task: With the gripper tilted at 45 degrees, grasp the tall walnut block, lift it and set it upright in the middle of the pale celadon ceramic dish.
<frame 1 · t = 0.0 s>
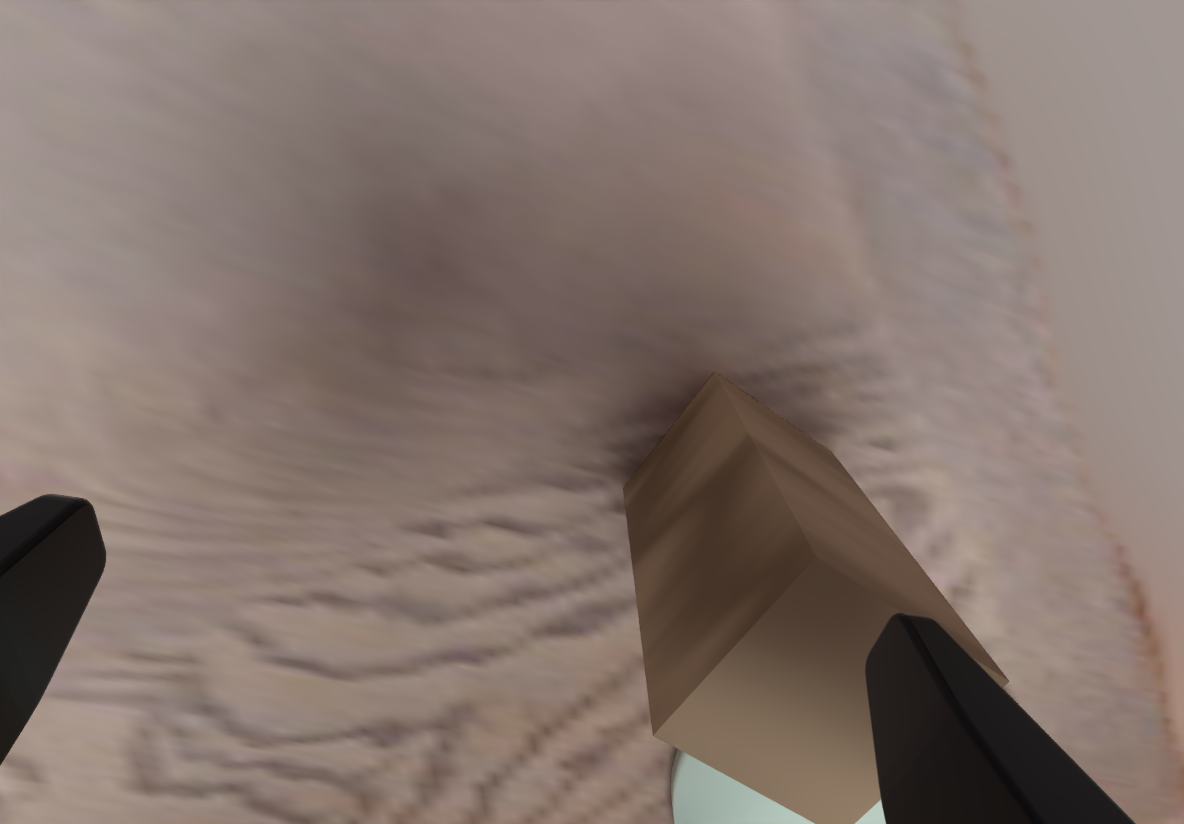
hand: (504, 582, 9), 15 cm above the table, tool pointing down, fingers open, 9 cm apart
walnut block: (727, 471, 25), on the table
dish: (845, 779, 30), on the table
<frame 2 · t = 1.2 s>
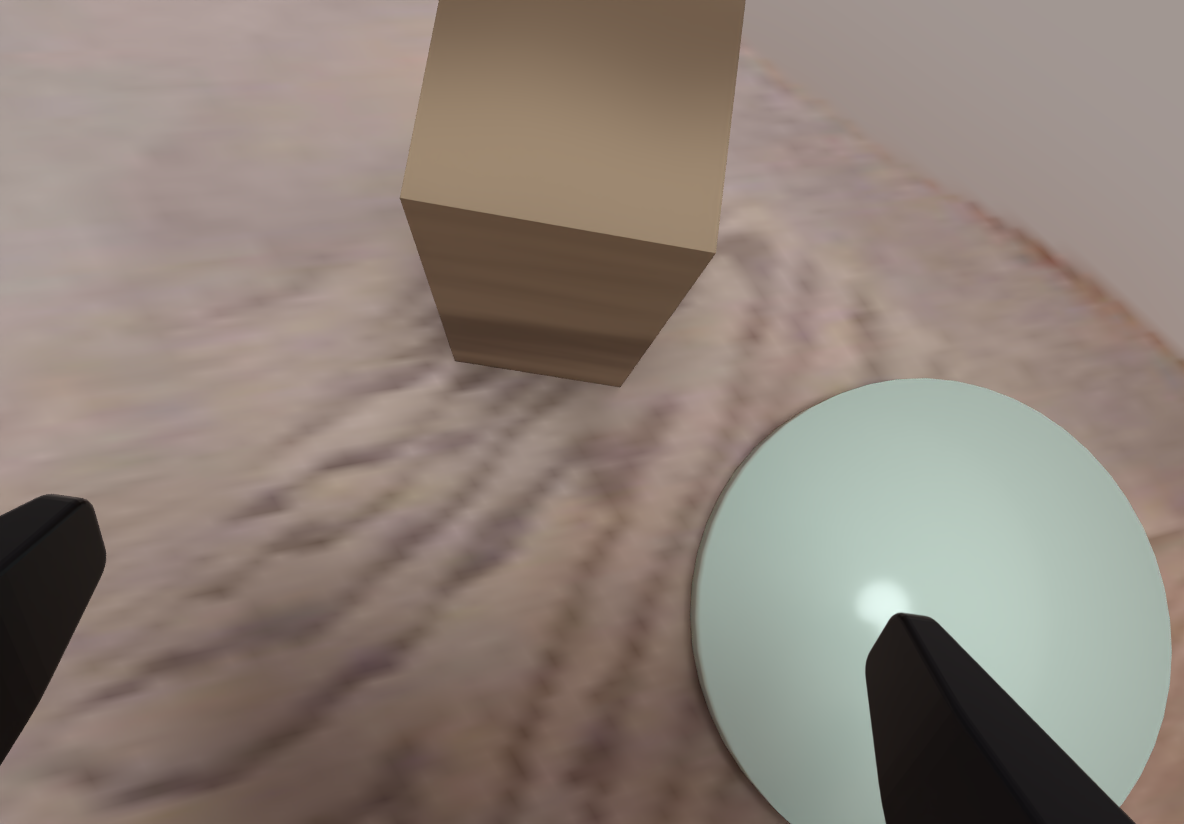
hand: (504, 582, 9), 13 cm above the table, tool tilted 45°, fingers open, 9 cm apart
walnut block: (550, 295, 23), on the table
dish: (920, 615, 23), on the table
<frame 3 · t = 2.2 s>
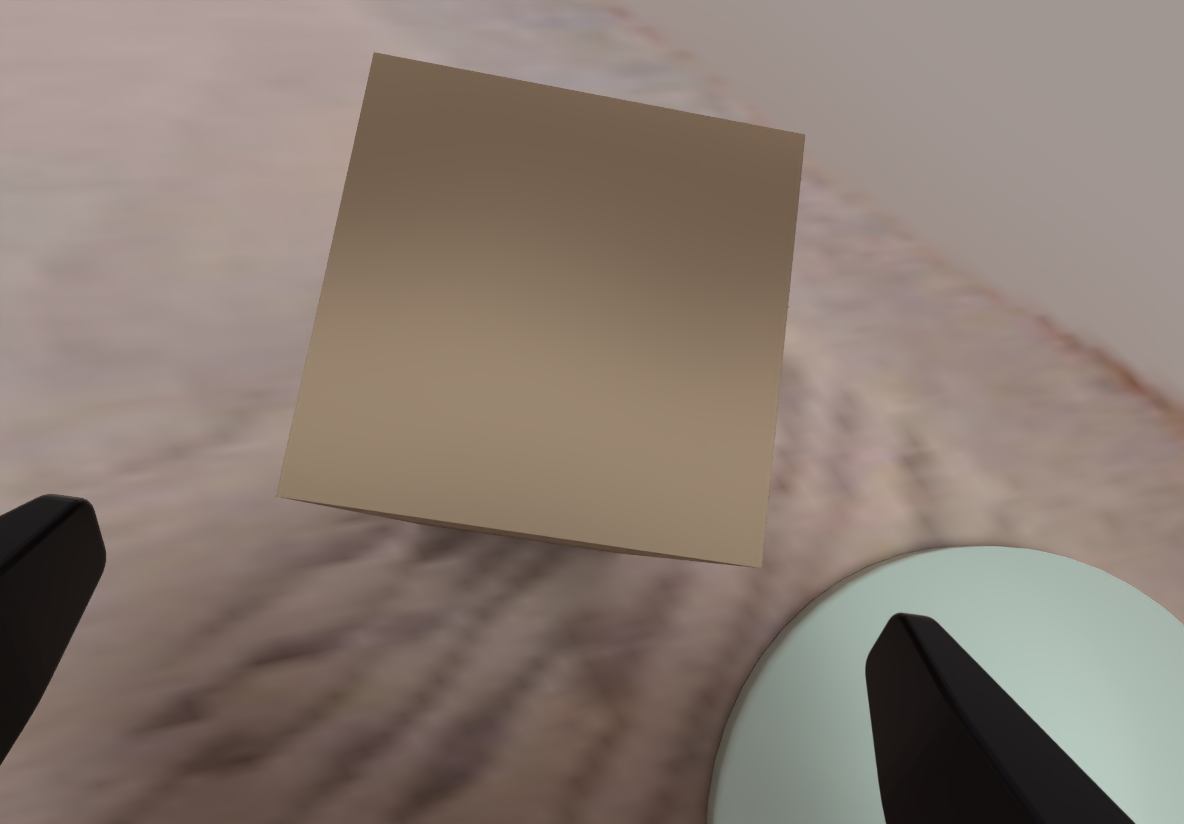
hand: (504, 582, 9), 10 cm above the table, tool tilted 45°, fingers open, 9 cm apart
walnut block: (535, 438, 19), on the table
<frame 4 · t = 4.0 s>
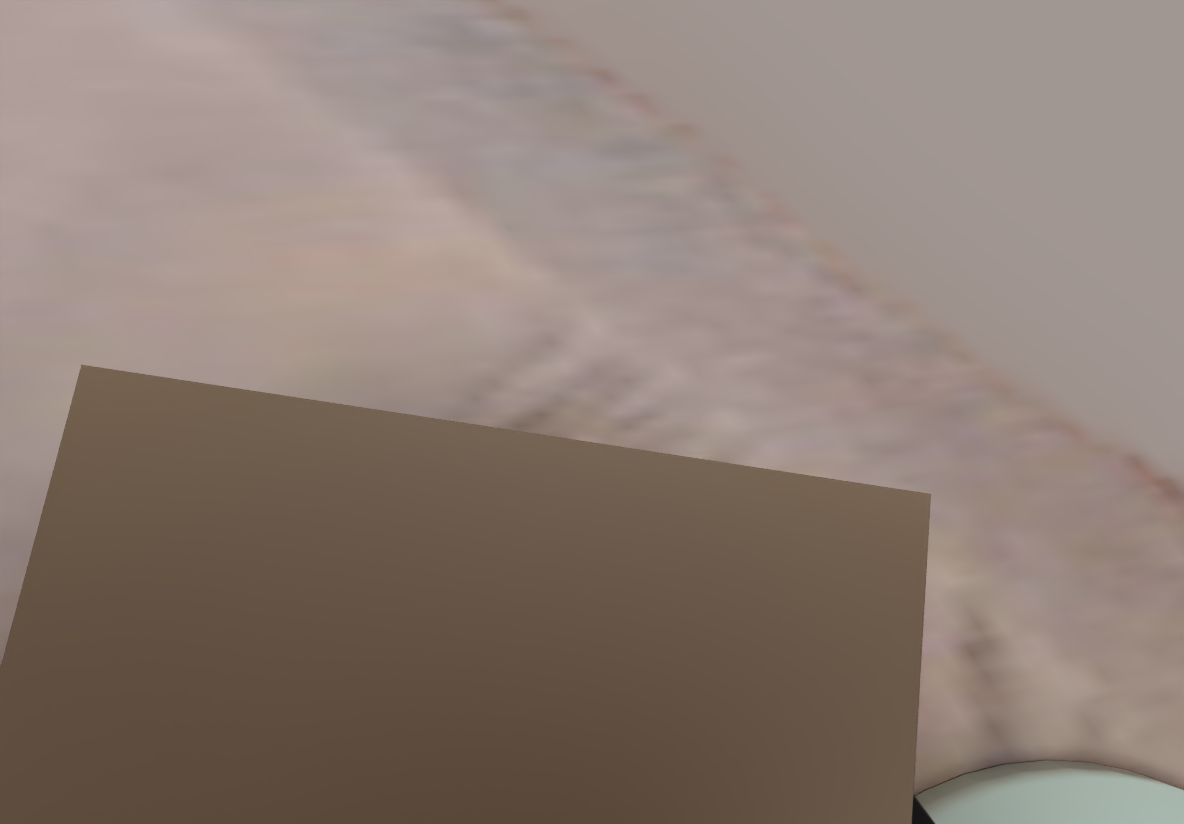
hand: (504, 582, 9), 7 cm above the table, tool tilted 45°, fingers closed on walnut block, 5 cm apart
walnut block: (498, 634, 15), on the table, touching gripper
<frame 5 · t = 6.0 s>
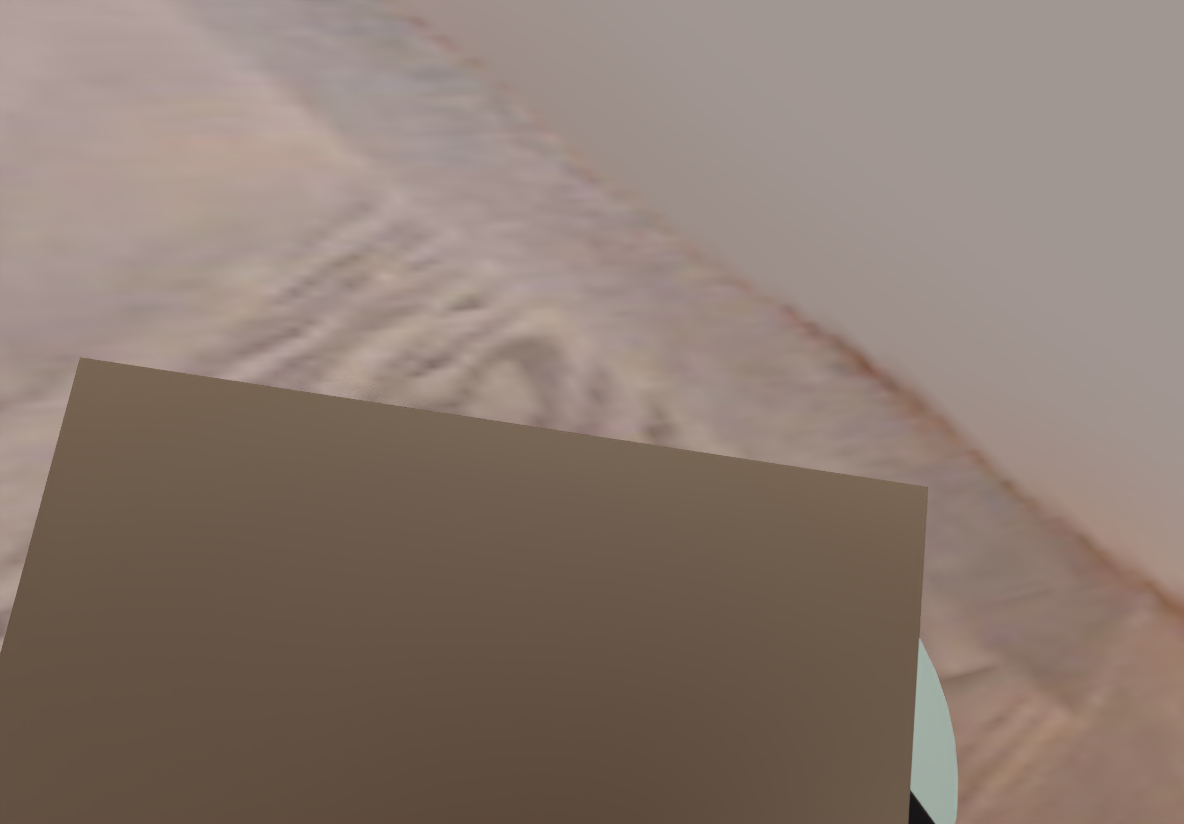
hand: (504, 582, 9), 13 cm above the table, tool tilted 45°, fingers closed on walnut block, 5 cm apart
walnut block: (497, 633, 15), point 7 cm above the table, touching gripper
dish: (695, 759, 21), on the table
when the fingers open (9 cm above the table, at t = 8.1 s): walnut block stays where it is, resting on dish.
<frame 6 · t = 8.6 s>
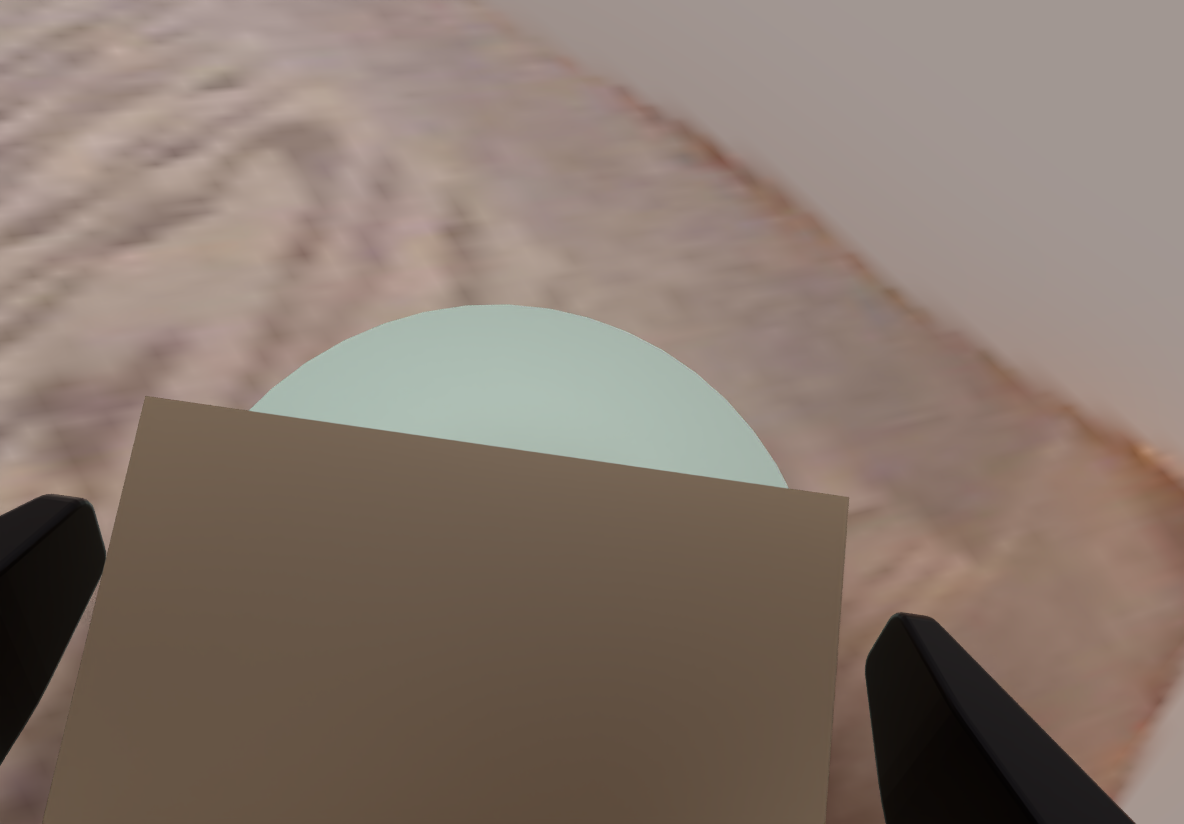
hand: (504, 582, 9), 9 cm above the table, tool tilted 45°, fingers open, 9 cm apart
walnut block: (496, 627, 16), point 1 cm above the table, touching dish
dish: (500, 621, 17), on the table
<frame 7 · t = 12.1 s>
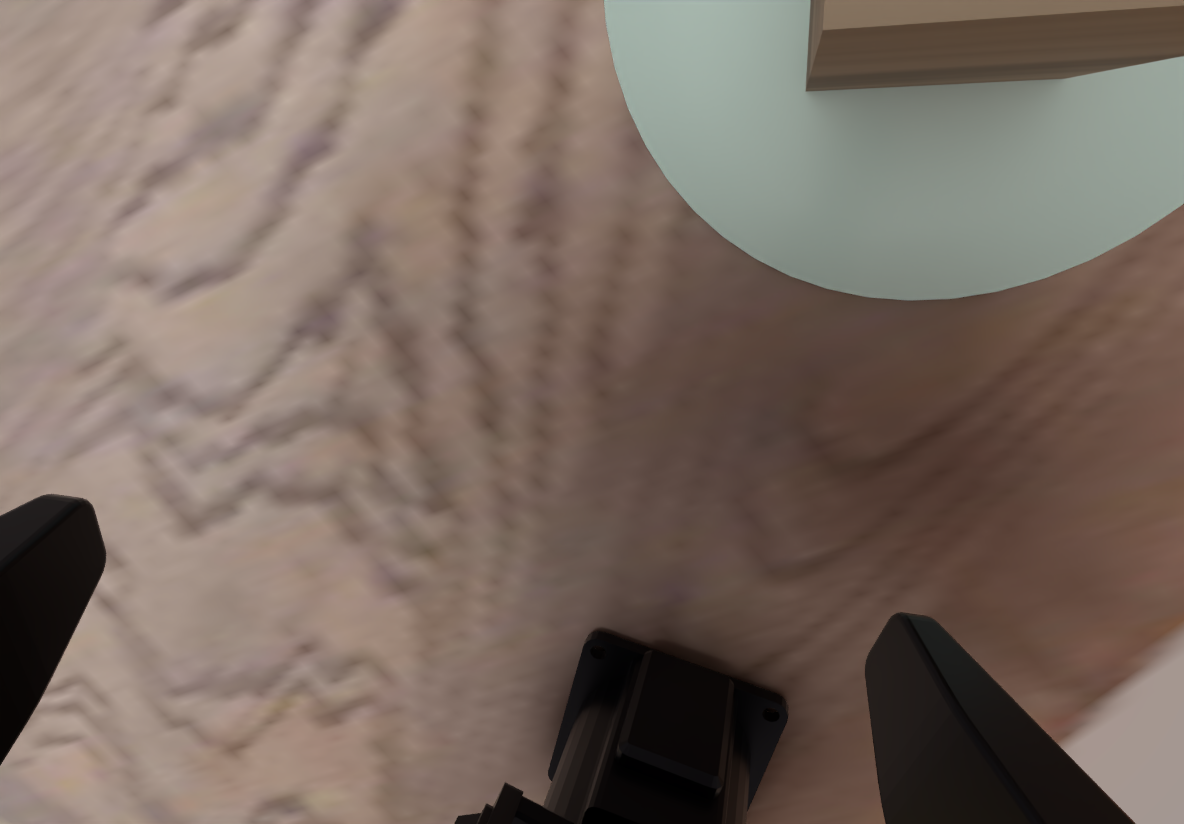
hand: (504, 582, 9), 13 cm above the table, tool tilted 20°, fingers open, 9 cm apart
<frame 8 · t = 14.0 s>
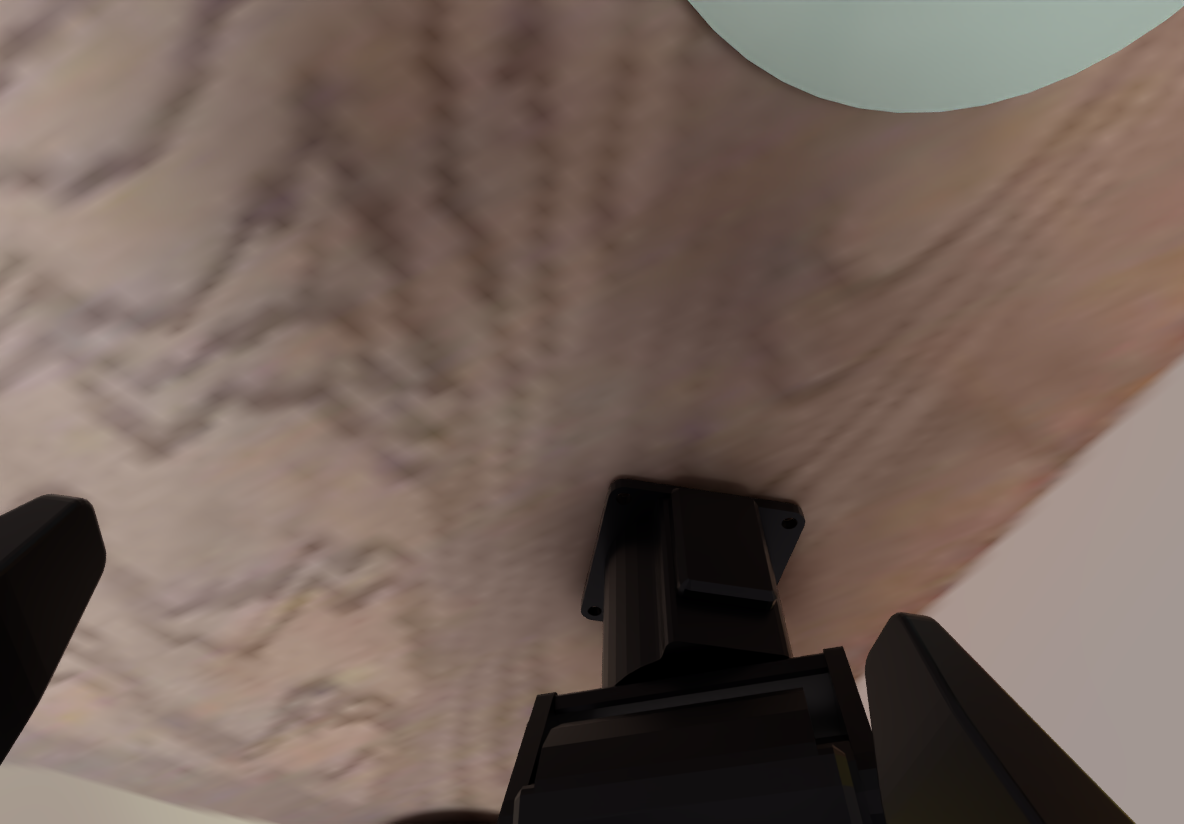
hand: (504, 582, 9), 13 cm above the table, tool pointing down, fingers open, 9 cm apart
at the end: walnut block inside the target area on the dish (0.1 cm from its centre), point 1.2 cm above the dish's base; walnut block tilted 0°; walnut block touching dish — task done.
